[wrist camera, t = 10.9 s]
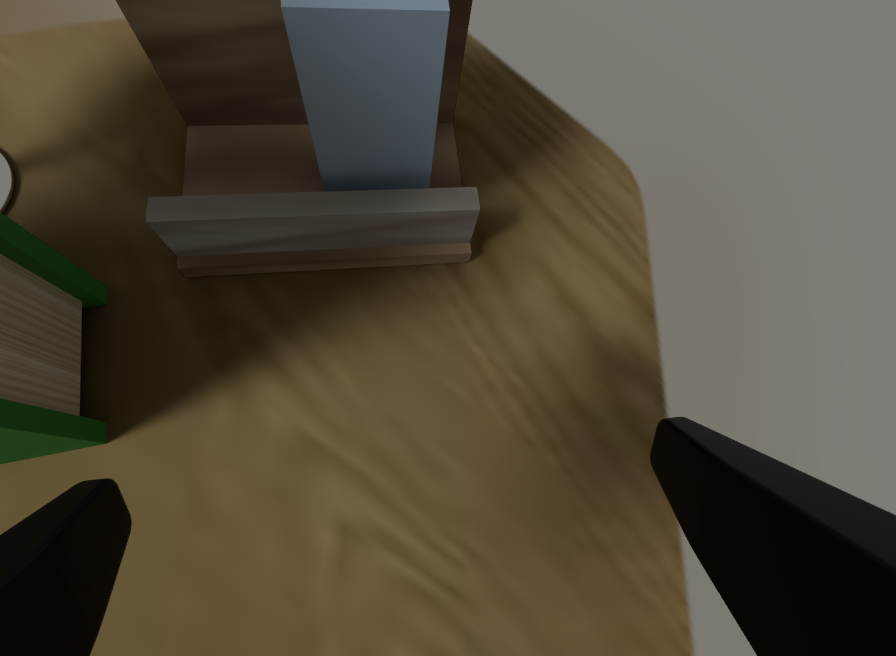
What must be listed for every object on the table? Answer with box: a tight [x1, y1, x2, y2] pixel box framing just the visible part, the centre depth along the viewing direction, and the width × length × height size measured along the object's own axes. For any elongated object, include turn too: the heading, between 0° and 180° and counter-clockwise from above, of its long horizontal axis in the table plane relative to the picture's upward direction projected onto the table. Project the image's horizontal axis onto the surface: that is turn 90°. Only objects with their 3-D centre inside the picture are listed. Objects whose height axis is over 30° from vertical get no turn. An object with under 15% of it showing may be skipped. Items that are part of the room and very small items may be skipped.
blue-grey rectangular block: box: [281, 0, 450, 192], centre depth 20 cm, size 5×5×10 cm
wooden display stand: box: [116, 0, 480, 277], centre depth 19 cm, size 10×14×13 cm
